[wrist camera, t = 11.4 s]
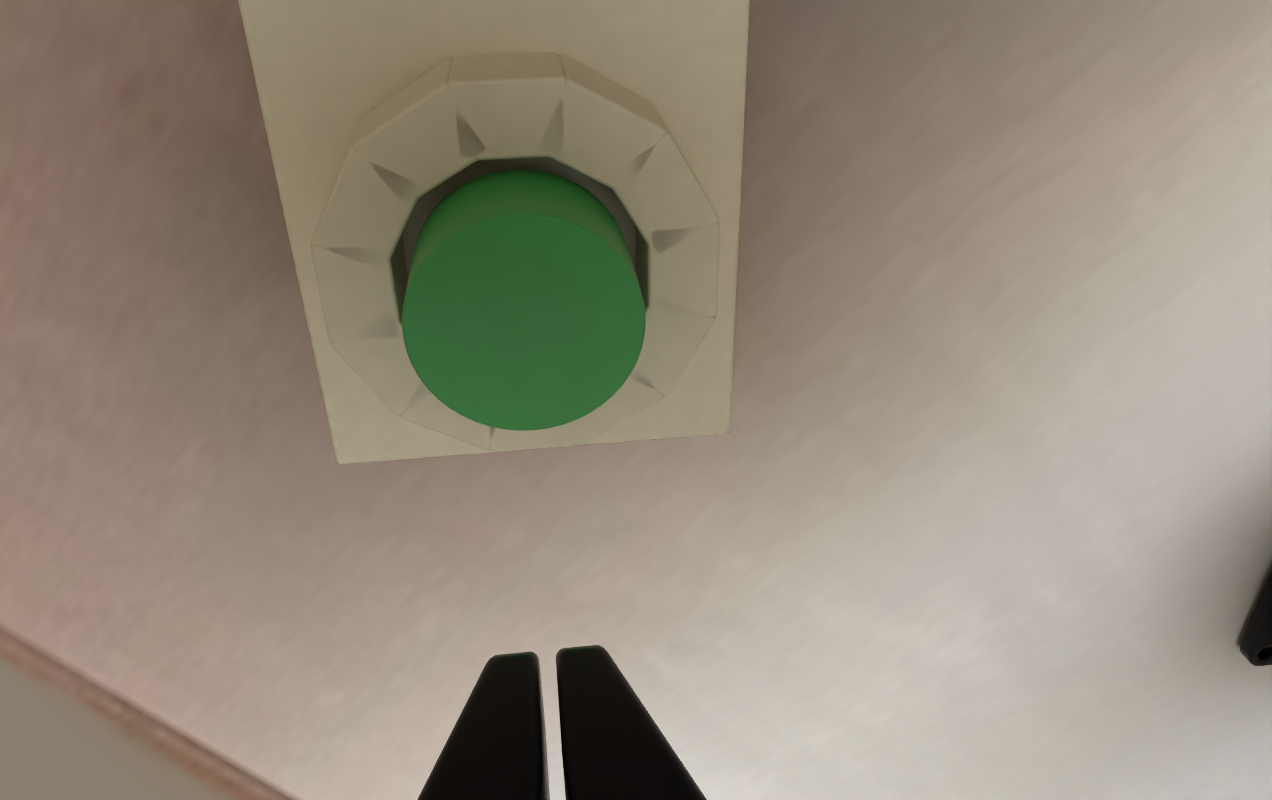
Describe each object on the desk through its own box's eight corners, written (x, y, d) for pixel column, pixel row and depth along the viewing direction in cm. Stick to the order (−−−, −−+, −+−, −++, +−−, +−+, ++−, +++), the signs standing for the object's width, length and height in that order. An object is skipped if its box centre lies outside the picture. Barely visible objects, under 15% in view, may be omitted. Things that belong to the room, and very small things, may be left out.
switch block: (715, 393, 21) (750, 486, 18) (347, 420, 21) (322, 522, 18) (730, -52, 17) (781, -24, 14) (255, -38, 16) (199, -5, 13)
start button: (632, 361, 17) (647, 422, 15) (426, 375, 17) (418, 440, 15) (628, 162, 15) (645, 207, 13) (397, 174, 15) (384, 221, 13)
